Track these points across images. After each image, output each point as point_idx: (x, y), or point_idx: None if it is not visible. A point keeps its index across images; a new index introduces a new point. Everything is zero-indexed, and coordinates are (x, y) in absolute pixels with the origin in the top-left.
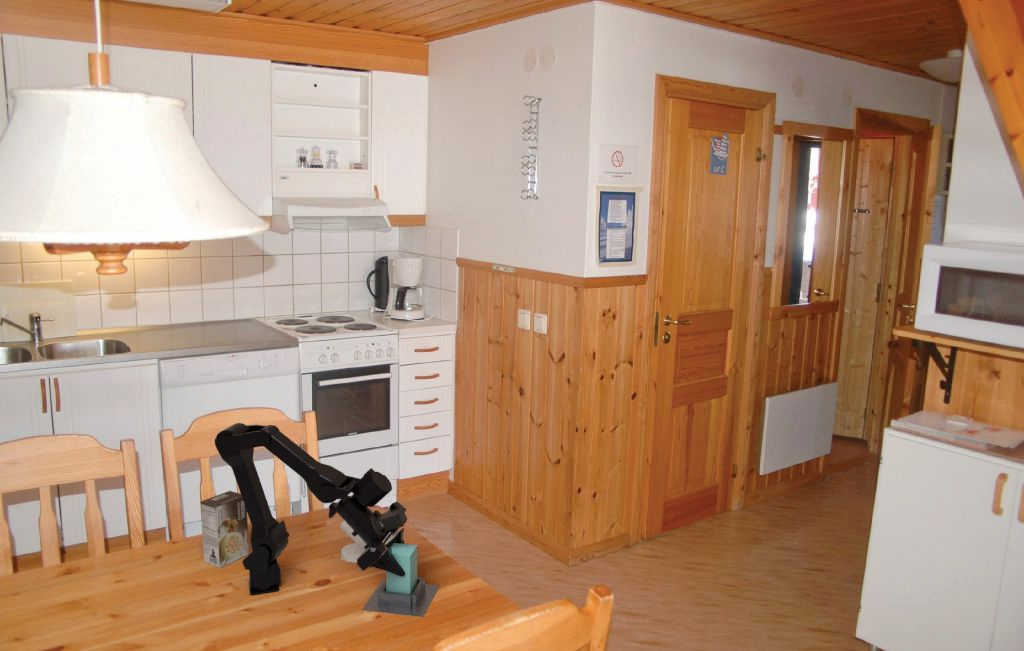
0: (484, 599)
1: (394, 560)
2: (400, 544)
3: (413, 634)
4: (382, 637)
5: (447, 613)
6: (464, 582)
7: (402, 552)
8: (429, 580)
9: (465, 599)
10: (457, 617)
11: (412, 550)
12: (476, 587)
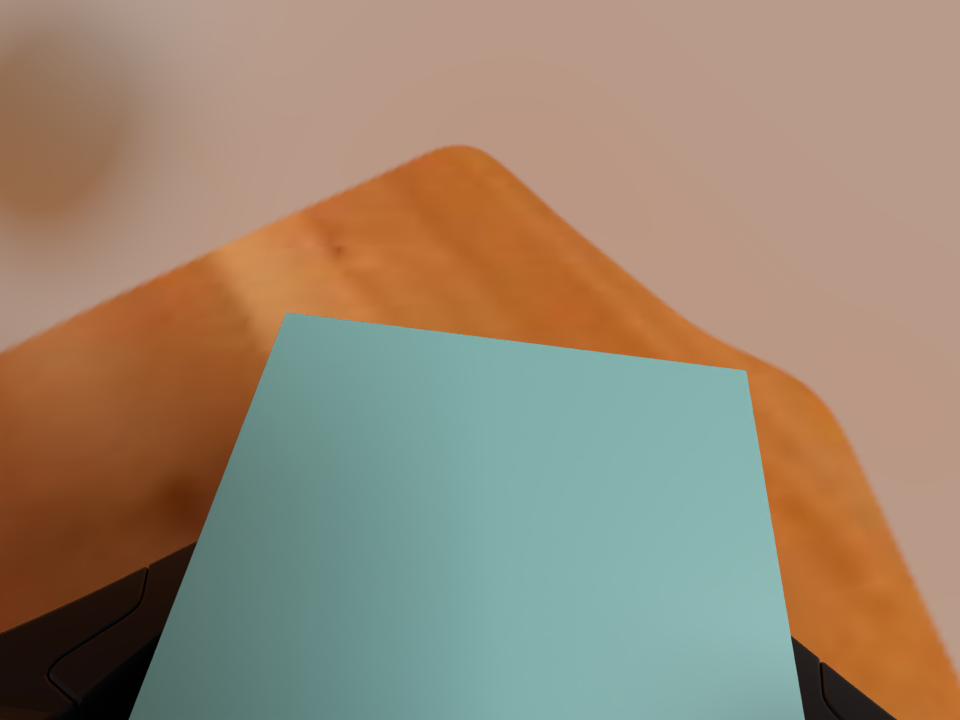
0: (417, 200)
1: (847, 709)
2: (196, 707)
3: (787, 463)
4: (892, 648)
5: (554, 328)
6: (246, 280)
7: (649, 552)
8: (186, 459)
9: (418, 266)
10: (581, 286)
11: (516, 362)
12: (305, 231)
